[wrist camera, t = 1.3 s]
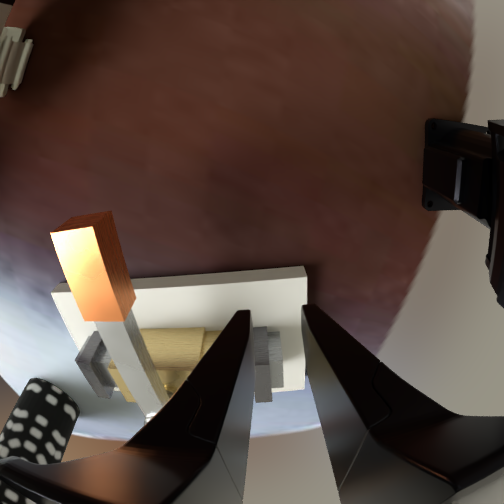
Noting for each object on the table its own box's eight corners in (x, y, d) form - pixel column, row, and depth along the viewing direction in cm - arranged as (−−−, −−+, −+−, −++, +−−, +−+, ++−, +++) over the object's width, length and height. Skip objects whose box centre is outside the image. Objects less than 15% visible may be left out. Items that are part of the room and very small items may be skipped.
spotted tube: (73, 422, 33) (37, 532, 15) (26, 392, 30) (-22, 498, 12) (85, 404, 30) (41, 537, 12) (31, 368, 27) (-30, 494, 10)
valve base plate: (303, 265, 21) (307, 276, 20) (302, 377, 26) (304, 389, 25) (59, 283, 22) (50, 292, 20) (106, 379, 27) (102, 389, 26)
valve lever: (186, 404, 19) (181, 437, 16) (157, 403, 19) (150, 434, 17) (119, 203, 13) (92, 226, 10) (81, 209, 13) (50, 233, 10)
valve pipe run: (279, 322, 21) (284, 366, 17) (281, 366, 23) (285, 407, 20) (84, 328, 22) (63, 363, 18) (104, 367, 24) (89, 402, 20)
